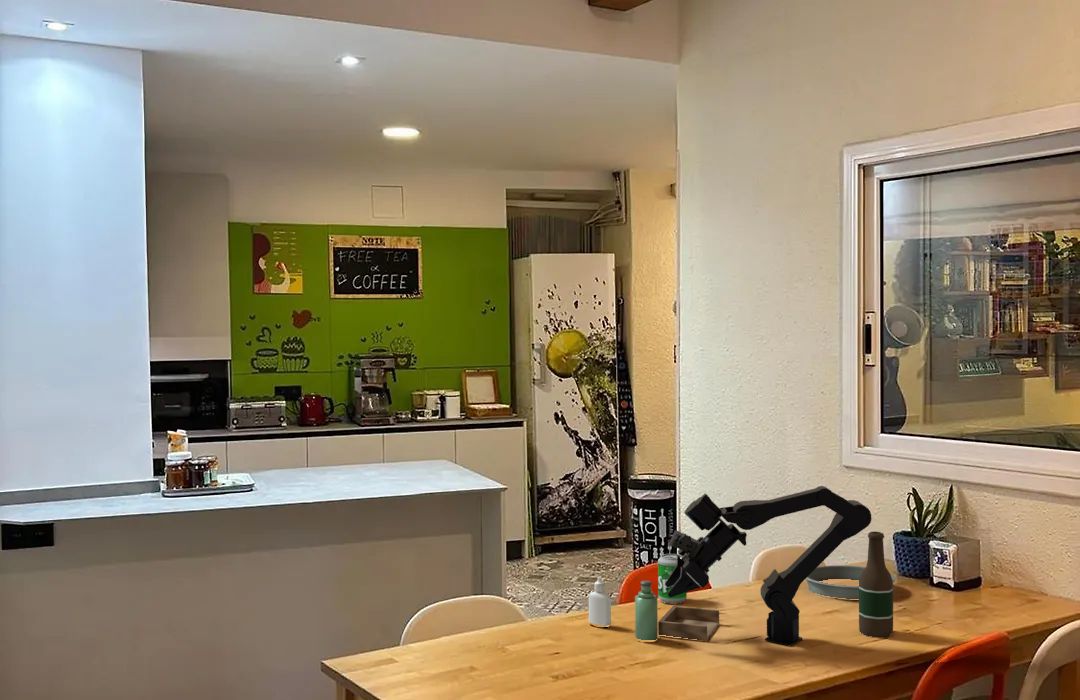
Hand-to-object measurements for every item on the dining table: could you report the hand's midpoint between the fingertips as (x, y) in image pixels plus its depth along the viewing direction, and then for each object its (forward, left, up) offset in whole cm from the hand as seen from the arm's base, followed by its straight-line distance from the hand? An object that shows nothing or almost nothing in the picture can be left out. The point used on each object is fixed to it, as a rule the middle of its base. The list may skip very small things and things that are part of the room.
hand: (667, 590), depth 238 cm
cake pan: (-13, -68, -12) cm, 71 cm away
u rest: (0, -9, -11) cm, 15 cm away
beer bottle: (-35, -35, -12) cm, 51 cm away
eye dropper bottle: (+19, +2, -12) cm, 22 cm away
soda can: (+18, -28, -12) cm, 36 cm away
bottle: (+4, +3, -11) cm, 13 cm away
